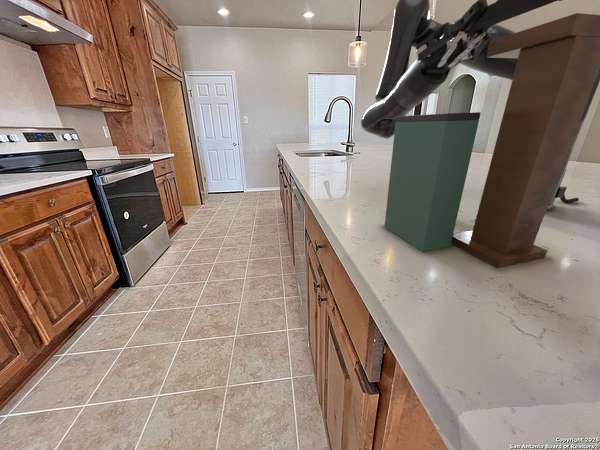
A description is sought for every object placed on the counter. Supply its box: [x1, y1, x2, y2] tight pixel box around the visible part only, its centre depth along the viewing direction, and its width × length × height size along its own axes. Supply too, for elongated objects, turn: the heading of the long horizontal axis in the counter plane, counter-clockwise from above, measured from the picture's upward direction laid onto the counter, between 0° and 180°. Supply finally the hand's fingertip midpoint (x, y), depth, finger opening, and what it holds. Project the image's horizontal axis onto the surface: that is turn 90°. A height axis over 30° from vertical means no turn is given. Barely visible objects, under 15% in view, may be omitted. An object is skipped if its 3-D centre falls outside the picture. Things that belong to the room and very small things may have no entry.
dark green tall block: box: [384, 111, 482, 252], centre depth 45 cm, size 6×12×22 cm, turn 15°
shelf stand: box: [451, 12, 600, 269], centre depth 38 cm, size 10×11×32 cm
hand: (494, 3), depth 38 cm, fingers closed on pad strip, 3 cm apart
